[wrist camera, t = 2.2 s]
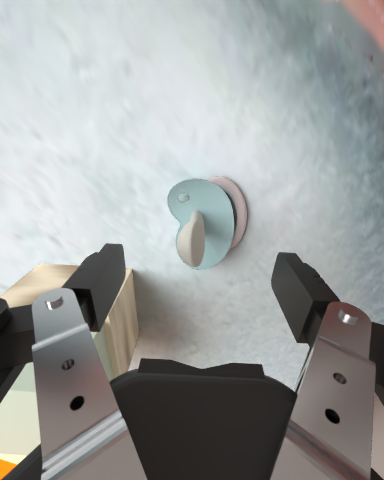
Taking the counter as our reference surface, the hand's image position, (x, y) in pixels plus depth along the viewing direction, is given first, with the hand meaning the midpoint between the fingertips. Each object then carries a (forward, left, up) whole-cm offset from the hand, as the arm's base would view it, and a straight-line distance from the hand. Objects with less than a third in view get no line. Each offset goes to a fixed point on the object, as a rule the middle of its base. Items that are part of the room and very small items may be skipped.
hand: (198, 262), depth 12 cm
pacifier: (-1, 0, -8) cm, 8 cm away
